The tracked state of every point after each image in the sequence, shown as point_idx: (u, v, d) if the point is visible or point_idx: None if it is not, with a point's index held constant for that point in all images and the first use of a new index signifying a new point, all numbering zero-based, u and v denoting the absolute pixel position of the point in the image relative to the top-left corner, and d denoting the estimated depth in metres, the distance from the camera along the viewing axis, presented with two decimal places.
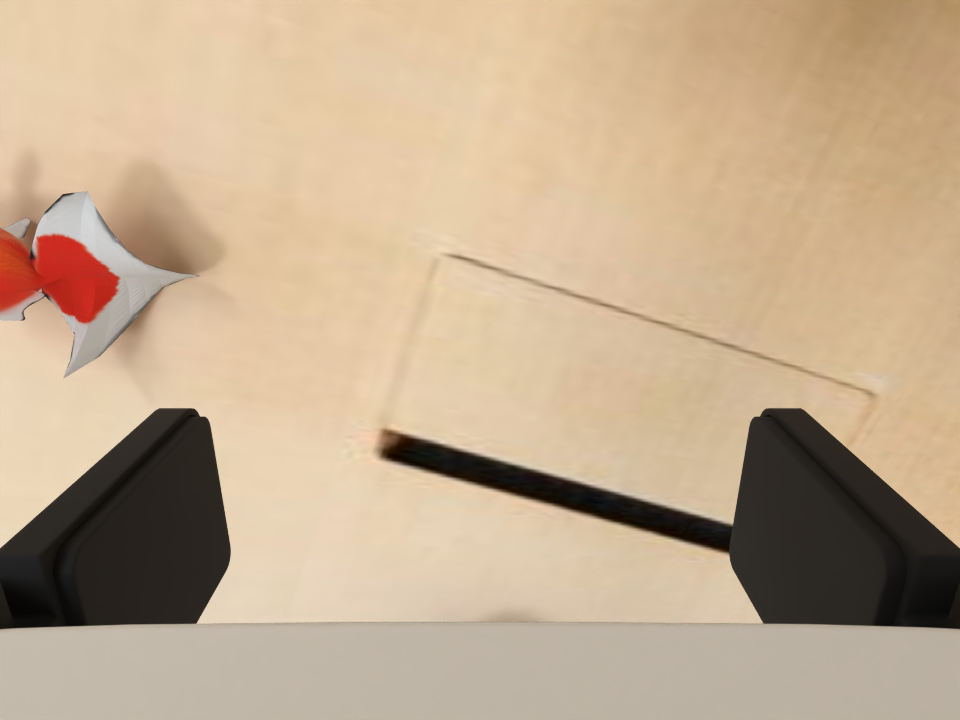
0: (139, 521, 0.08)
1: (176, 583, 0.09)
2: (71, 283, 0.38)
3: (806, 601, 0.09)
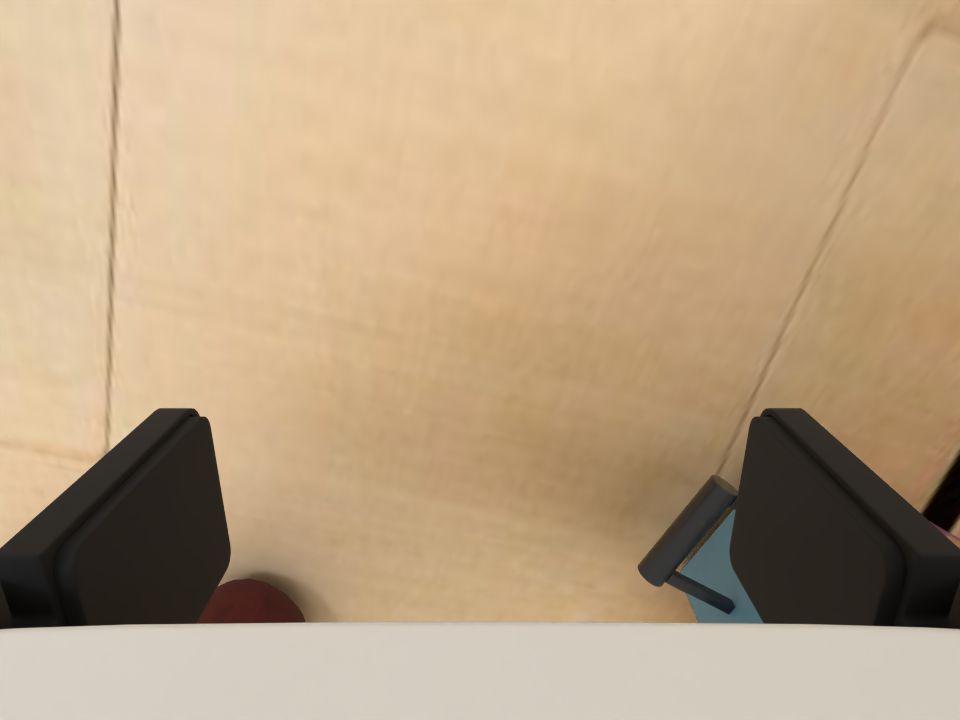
0: (139, 521, 0.08)
1: (176, 583, 0.09)
2: None
3: (806, 601, 0.09)
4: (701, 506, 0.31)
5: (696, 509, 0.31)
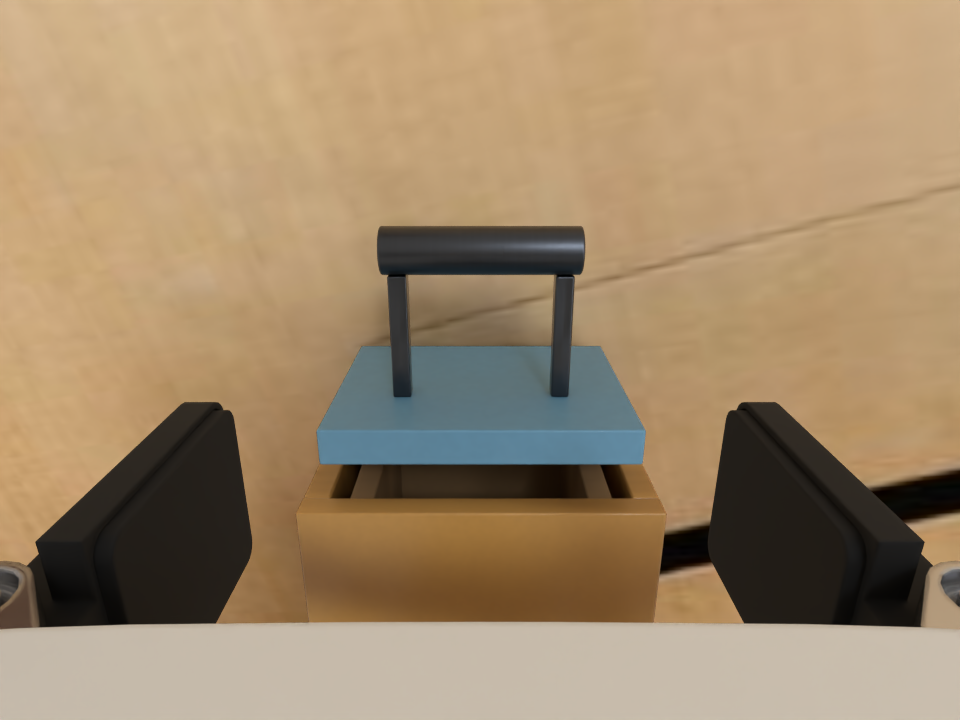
0: (171, 511, 0.09)
1: (203, 572, 0.09)
2: None
3: (776, 589, 0.09)
4: (538, 234, 0.19)
5: (529, 232, 0.19)
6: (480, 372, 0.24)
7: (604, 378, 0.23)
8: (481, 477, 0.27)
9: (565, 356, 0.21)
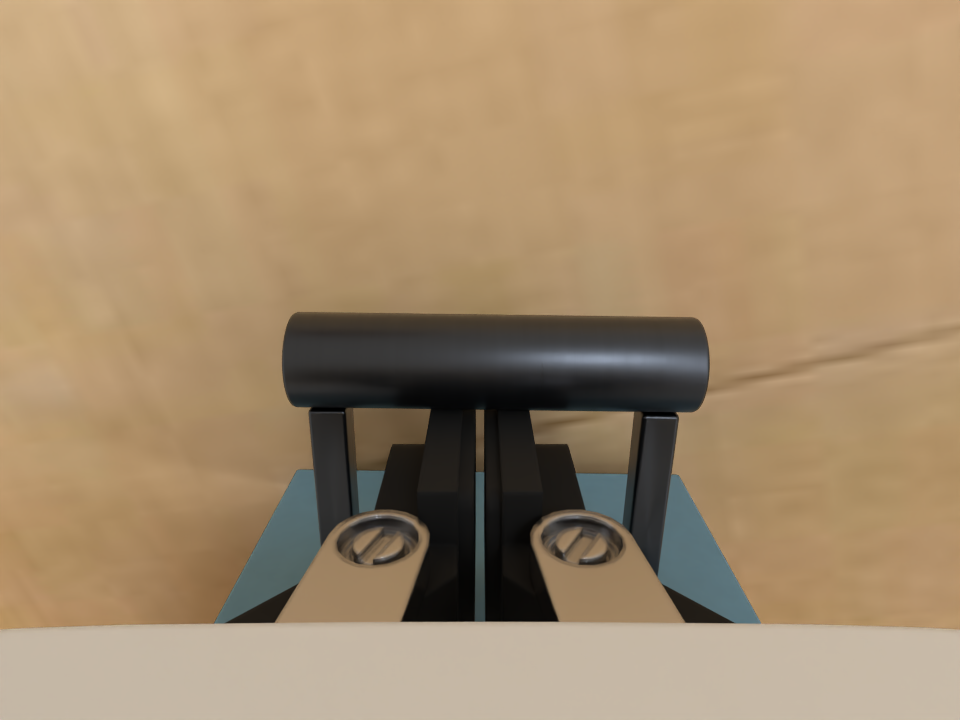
0: (474, 472, 0.09)
1: None
2: None
3: None
4: (614, 337, 0.09)
5: (594, 333, 0.09)
6: None
7: (705, 563, 0.13)
8: None
9: (651, 557, 0.11)
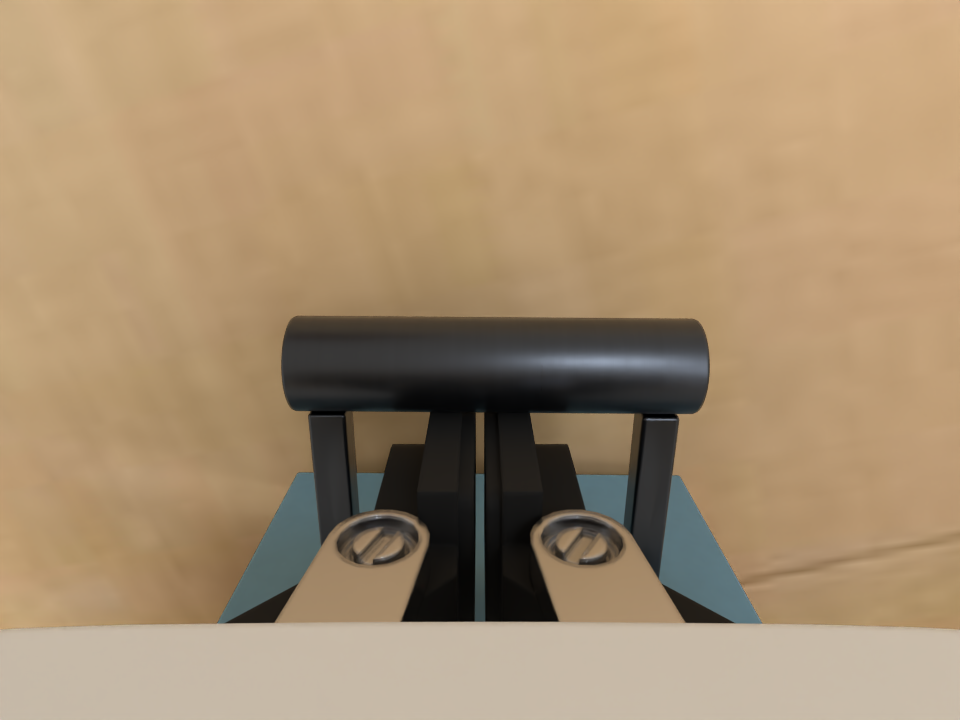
0: (474, 472, 0.09)
1: None
2: None
3: None
4: (613, 339, 0.09)
5: (593, 335, 0.09)
6: None
7: (706, 564, 0.13)
8: None
9: (653, 558, 0.11)
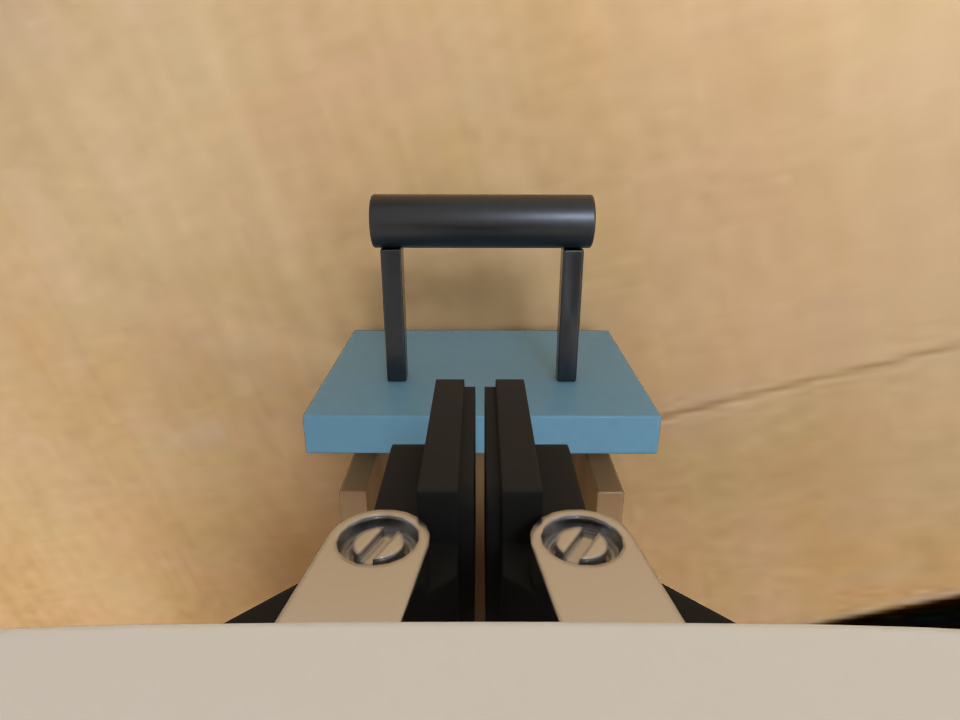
0: (474, 472, 0.09)
1: None
2: None
3: None
4: (544, 202, 0.18)
5: (534, 200, 0.18)
6: (480, 356, 0.22)
7: (614, 362, 0.21)
8: (481, 470, 0.26)
9: (573, 337, 0.19)
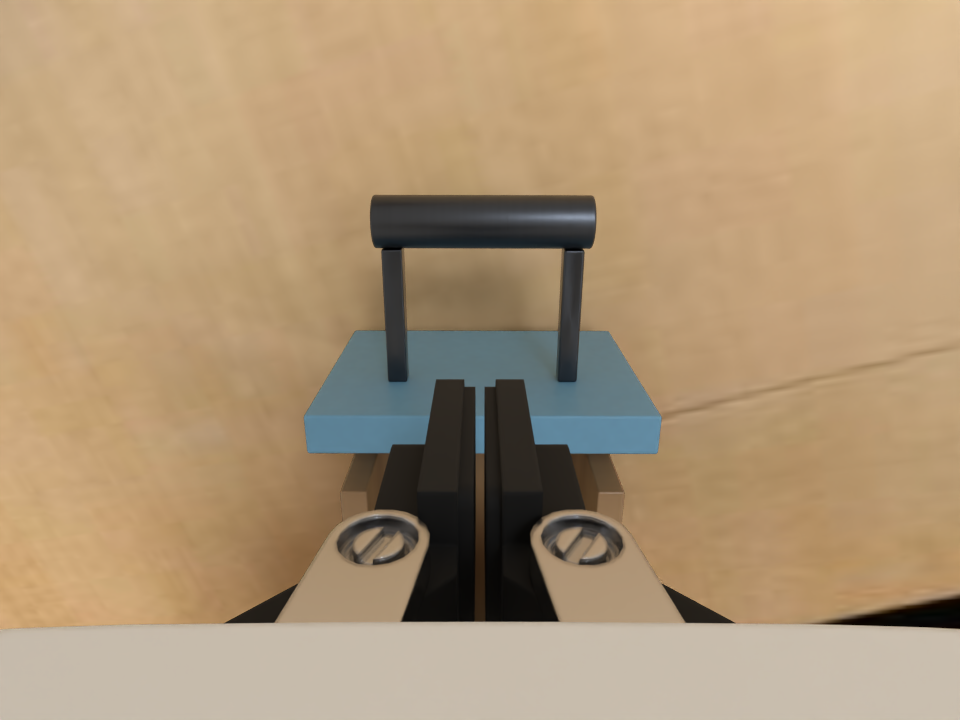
0: (474, 472, 0.09)
1: None
2: None
3: None
4: (545, 203, 0.18)
5: (535, 201, 0.18)
6: (481, 356, 0.22)
7: (614, 363, 0.21)
8: (482, 470, 0.26)
9: (574, 338, 0.19)
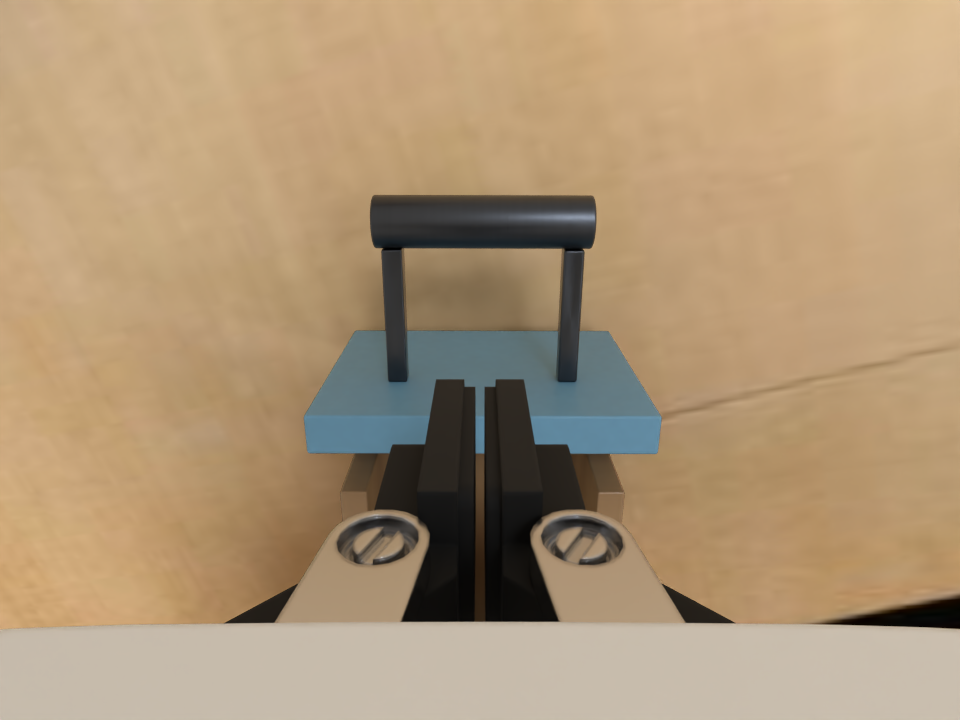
0: (474, 472, 0.09)
1: None
2: None
3: None
4: (545, 203, 0.18)
5: (535, 201, 0.18)
6: (481, 356, 0.22)
7: (614, 363, 0.21)
8: (482, 470, 0.26)
9: (574, 338, 0.19)
